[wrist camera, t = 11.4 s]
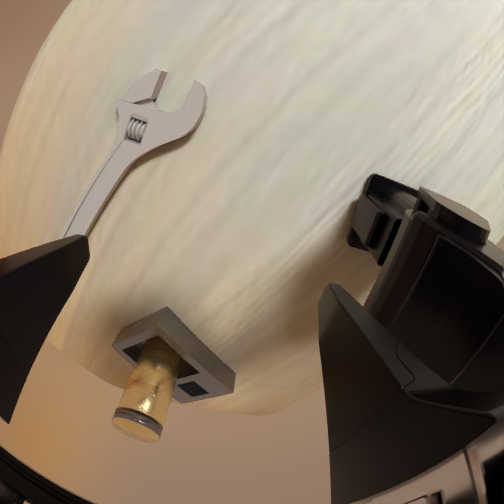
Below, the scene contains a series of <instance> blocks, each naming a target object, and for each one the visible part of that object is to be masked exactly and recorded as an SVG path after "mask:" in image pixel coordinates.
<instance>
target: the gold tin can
mask: <svg viewBox="0 0 504 504" xmlns="http://www.w3.org/2000/svg"><path fill="white" fill-rule="evenodd" d="M182 362H183V357H181V356H180V355H179V354H178V353H177V352H176V351H175V350H174V349H173V348H172V347H171V346H169V345H168V344H167V343H166V342H165V341H164V340H163V339H162V338H161V337H160V336H159V335H157V336H155V337H152V338H150V339H147V341H146V343H145V346H144V348H143V350H142V352H141V354H140V356H139V359H138V361H137V363H136V365H135V368H134V370H133V372H132V374H131V377H130V379H129V381H128V383H127V386H126V388H125V390H124V393H123V395H122V398H121V400H120V402H119V405H118V408H117V409H116V411H115V413H114V416H113V418H112V425H113V426H114V427H115V428H116V429H118V430H119V431H121V432H122V433H124V434H125V435H128V436H130V437H132V438H134V439H137V440H140V441H143V442H147V443H157V442H158V441H159V439H160V436H161V433H162V429H163V424H164V421H165V417H166V414H167V410H168V407H169V404H170V400H171V397H172V394H173V391H174V387H175V384H176V381H177V378H178V374H179V371H180V368H181V365H182Z"/></svg>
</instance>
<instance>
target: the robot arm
mask: <svg viewBox="0 0 504 504" xmlns="http://www.w3.org/2000/svg"><path fill="white" fill-rule="evenodd" d="M374 178H377V182H373V180H374ZM351 225H352V227H351V230H350V232H349V235H348V237H347V243H348V244H349V246H351V247H355V248H358V249H362V250H366V251H370V252H371V254H372V256H373V257H374V259H375V260H376V262H377V264H378V265H380V266H383V267H382V269H381V271H380V273H379V275H378V277H377V279H376V281H375V283H374V285H373V287H372V290H371V292H370V293H369V295H368V297H367V299H366V301H365V303H364V305H363V306H362V305H361V304H359V303H358V302H357V301H356V300H355V299H354V298H353V297H352V296H351V295H350V294H348V293H347V292H346V291H345V290H344V289H343V288H342V287H341V286H339V285H338V284H332V283H328V284H327V285H326V287H325V289H324V291H323V294H322V296H321V299H320V301H319V306H318V312H319V348H320V356H321V364H322V373H323V382H324V390H325V391H324V392H325V401H326V413H327V424H328V439H329V452H330V454H329V457H330V478H331V504H366V503H371V504H504V251H502V250H501V249H500V248H498V247H497V246H496V245H494V244H493V243H492V242H490V241H489V240H488V239H487V238H488V236H489V233H490V231H491V230H490V226H489V223H488V221H487V220H486V219H484V218H483V217H481V216H480V215H478V214H476V213H475V212H473V211H472V210H470V209H468V208H467V207H465V206H463V205H461V204H459V203H457V202H455V201H453V200H450V199H448V198H446V197H444V196H442V195H440V194H437V193H435V192H433V191H430V190H428V189H426V188H423V187H421V186H420V188H419V190H416V189H413V188H411V187H409V186H406V185H404V184H401V183H399V182H396V181H394V180H391V179H389V178H386V177H384V176H381V175H378V174H375V173H374V174H372V175H370V177H369V180H368V183H367V186H366V188H365V191H364V194H363V195H361V196H360V198H359V201H358V204H357V206H356V209H355V212H354V215H353V217H352V220H351ZM352 239H355V241H354V242H351V240H352ZM89 258H90V252H89V244H88V238H87V237H86V236H85V235H81V234H76V235H73V236H69V237H66V238H63V239H59V240H56V241H53V242H50V243H46V244H43V245H40V246H37V247H34V248H31V249H28V250H25V251H22V252H19V253H16V254H13V255H10V256H8V257H6V258H2V259H0V418H1V419H2V420H4V421H5V422H6V423H7V424H9V423H10V421H11V418H12V415H13V412H14V409H15V406H16V404H17V401H18V398H19V396H20V393H21V391H22V388H23V386H24V383H25V381H26V379H27V376H28V374H29V372H30V369H31V367H32V365H33V363H34V361H35V359H36V357H37V355H38V353H39V351H40V349H41V347H42V345H43V343H44V341H45V339H46V337H47V335H48V333H49V331H50V330H51V328H52V326H53V324H54V322H55V321H56V319H57V317H58V315H59V314H60V312H61V310H62V308H63V307H64V305H65V303H66V302H67V300H68V298H69V297H70V295H71V293H72V292H73V290H74V288H75V286H76V284H77V282H78V280H79V278H80V276H81V274H82V273H83V271H84V269H85V267H86V265H87V263H88V261H89ZM24 501H25V502H27V503H29V504H97V503H95V502H92V501H89V500H88V499H85V498H83V497H82V496H80V495H77V494H76V493H74V492H71V491H70V490H68V489H66V488H64V487H62V486H60V485H59V484H57V483H55V482H53V481H52V480H50V479H48V478H47V477H45V476H43V475H42V474H40V473H39V472H37V471H36V470H34V469H33V468H31V467H30V466H28V465H27V464H25V463H24V462H22V461H21V460H19V459H18V458H17V457H16V456H14V455H13V454H12V453H10V452H9V451H8V450H6V449H5V448H4V447H3V446H1V445H0V504H23V503H24Z"/></svg>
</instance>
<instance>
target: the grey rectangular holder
mask: <svg viewBox="0 0 504 504" xmlns="http://www.w3.org/2000/svg"><path fill="white" fill-rule="evenodd" d="M157 335H159V336H160V337H161V338H162V339H163V340H164V341H165V342H166V343H167V344H168V345H169V346H171V347H172V348H173V349H174V350H175V351H176V352H177V353H178V354H179V355H180V356H181V357H183V358H184V359H185V360H184V361H183V362H182V365H181V368H180V371H179V374H178V378H177V381H176V384H175V387H174V391H173V394H172V397H173V398H175V399H176V400H177V401H179V402H180V403H181V404H182V403H188V402H193V401H198V400H203V399H208V398H213V397H217V396H222V395H226V394H230V393H233V391H234V384H235V377H236V373H234V372H233V371H232V370H231V369H230V368H229V367H228V366H227V365H226V364H225V363H223V362H222V361H221V360H220V359H219V358H218V357H217V356H216V355H215V354H214V353H213V352H212V351H211V350H210V349H209V348H208V347H207V346H206V345H204V344H203V343H202V342H201V341H200V340H199V339H198V338H197V337H196V336H195V335H194V334H193V333H192V332H191V331H190V330H189V329H188V328H187V327H186V326H185V325H184V323H183V322H182V321H181V320H180V319H179V318H178V317H177V316H176V315H175V314H174V313H173V312H172V311H171V310H170V309H169V308H168V307H165V308H163V309H161V310H159V311H157V312H155V313H153V314H151V315H149V316H147V317H145V318H143V319H141V320H139V321H137V322H135V323H133V324H131V325H129V326H127V327H125V328H123V329H121V330H120V332H119V334H118V335H117V337H116V339H115V341H114V342H113V344H112V347H113V348H114V349H115V350H116V351H117V352H118V353H119V354H120V355H121V356H123V357H124V358H125V359H126V360H127V361H128V362H129V363H130V364H132V365H133V366H134V367H135V365H136V363H137V361H138V359H139V356H140V354H141V352H142V350H143V348H144V345H143V344H142V343H141V342H143V341H145V340H147V339H150V338H152V337H155V336H157Z"/></svg>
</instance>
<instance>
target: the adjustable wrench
mask: <svg viewBox="0 0 504 504" xmlns="http://www.w3.org/2000/svg"><path fill="white" fill-rule="evenodd" d="M166 75H167V72H164V71H160V70H157V69H156V70H153V71H151V72H149V73H147V74H145V75H143V76H142V77H141V78H139V79H138V80H137V81H136V82H135V83H134V84H133V85H132V86H131V87H130V88H129V89H128V91H127V92H126V94H125V95H124V97H123V98H122V99H117V102H116V104H117V108H116V113H118V114H119V118H118V127H117V134H116V138H115V141H114V143H113V146H112V148H111V150H110V151H109V153H108V155H107V156H106V158H105V159H104V161H103V162H102V164H101V165H100V167H99V168H98V170H97V171H96V173H95V174H94V176H93V178H92V179H91V181H90V183H89V184H88V186H87V188H86V189H85V191H84V193H83V194H82V196H81V198H80V200H79V201H78V203H77V205H76V207H75V209H74V211H73V212H72V214H71V216H70V218H69V220H68V222H67V224H66V226H65V228H64V230H63V232H62V234H61V236H60V238H59V239H63V238H66V237H69V236H73V235H76V234H81V235H85V236H86V237H87V235H88V233H89V231H90V229H91V228H92V226H93V224H94V222H95V221H96V219H97V217H98V216H99V214H100V212H101V211H102V209H103V208H104V206H105V204H106V203H107V201H108V200H109V198H110V196H111V195H112V193H113V192H114V190H115V189H116V187H117V186H118V184H119V183H120V181H121V180H122V178H123V177H124V176H125V174H126V173H127V171H128V170H129V169H130V167H131V166H132V165H133V164H134V162H135V161H136V160H137V159H139V158H140V157H141V156H143V155H144V154H146V153H148V152H149V151H151V150H153V149H155V148H157V147H159V146H161V145H163V144H165V143H168V142H171V141H173V140H176V139H179V138H181V137H184V136H186V135H187V134H189V133H190V132H192V131H193V130H194V129H195V128H196V127H197V126H198V125H199V123H200V122H201V120H202V118H203V116H204V114H205V110H206V106H207V94H206V90H205V86H204V85H203V84H202V83H200V82H198V81H195V80H194V83H193V85H192V87H191V90H190V92H189V94H188V97H187V99H186V102H185V104H184V106H183V109H179V110H174V111H170V112H166V111H163V110H160V109H159V108H158V107H157V106H156V104H155V103H154V101H153V99H156V98H157V97H158V94H159V92H160V89H161V87H162V84H163V82H164V80H165V77H166ZM130 138H133V139H135V140H133V139H130ZM136 140H137V141H136ZM139 141H141V142H139Z"/></svg>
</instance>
